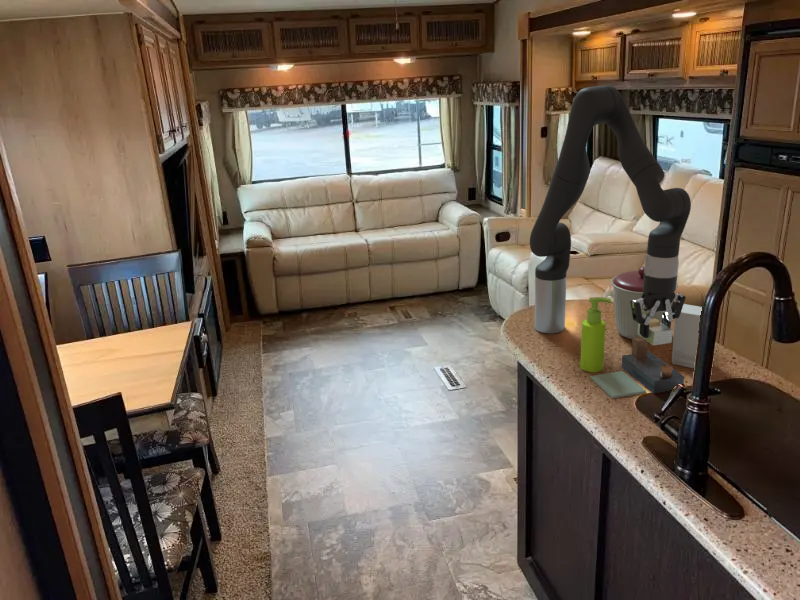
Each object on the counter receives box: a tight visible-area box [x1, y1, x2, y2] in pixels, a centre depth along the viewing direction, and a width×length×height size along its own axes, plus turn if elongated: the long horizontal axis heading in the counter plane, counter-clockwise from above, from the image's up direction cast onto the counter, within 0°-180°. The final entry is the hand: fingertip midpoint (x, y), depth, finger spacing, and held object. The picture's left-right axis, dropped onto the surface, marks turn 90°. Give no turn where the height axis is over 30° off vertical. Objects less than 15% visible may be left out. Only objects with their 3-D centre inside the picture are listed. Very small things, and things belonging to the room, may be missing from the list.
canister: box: [610, 266, 679, 341], centre depth 179 cm, size 18×18×21 cm
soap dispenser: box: [579, 296, 612, 373], centre depth 162 cm, size 6×7×20 cm
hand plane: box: [621, 337, 685, 395], centre depth 157 cm, size 15×8×8 cm, turn 11°
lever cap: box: [638, 318, 674, 346], centre depth 154 cm, size 7×5×4 cm
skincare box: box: [671, 303, 703, 369], centre depth 161 cm, size 8×7×16 cm
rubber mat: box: [590, 370, 647, 399], centre depth 156 cm, size 11×9×1 cm
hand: (654, 335), depth 154 cm, fingers closed on lever cap, 5 cm apart
